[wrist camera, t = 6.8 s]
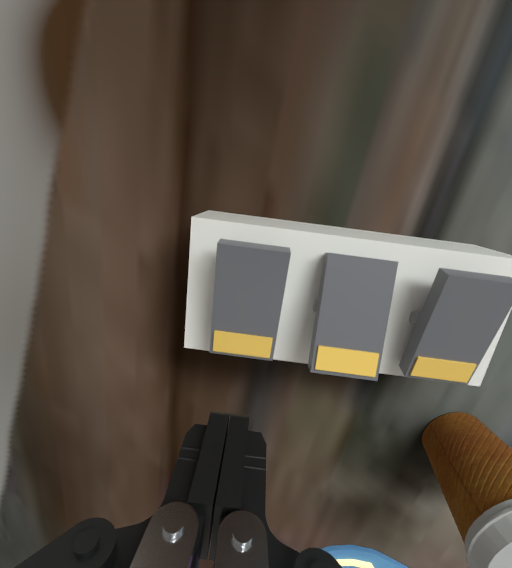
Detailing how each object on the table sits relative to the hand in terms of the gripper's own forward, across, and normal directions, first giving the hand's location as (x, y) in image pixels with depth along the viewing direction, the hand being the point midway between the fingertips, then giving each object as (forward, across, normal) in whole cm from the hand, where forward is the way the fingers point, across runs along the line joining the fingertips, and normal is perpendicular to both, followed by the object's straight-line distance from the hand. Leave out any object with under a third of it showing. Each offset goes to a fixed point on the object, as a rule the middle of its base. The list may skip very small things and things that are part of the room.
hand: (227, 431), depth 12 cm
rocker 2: (+10, -7, -2) cm, 12 cm away
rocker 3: (+10, -14, -2) cm, 17 cm away
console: (+17, -7, -1) cm, 19 cm away
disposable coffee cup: (+17, -23, +14) cm, 32 cm away
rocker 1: (+10, 0, -2) cm, 10 cm away
